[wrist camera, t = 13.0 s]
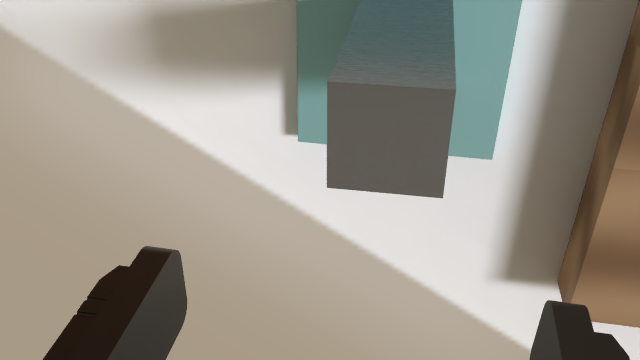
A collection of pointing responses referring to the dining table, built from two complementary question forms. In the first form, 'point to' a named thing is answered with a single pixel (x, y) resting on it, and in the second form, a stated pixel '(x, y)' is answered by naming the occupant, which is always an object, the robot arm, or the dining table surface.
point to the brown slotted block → (611, 209)
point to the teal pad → (470, 63)
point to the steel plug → (393, 99)
